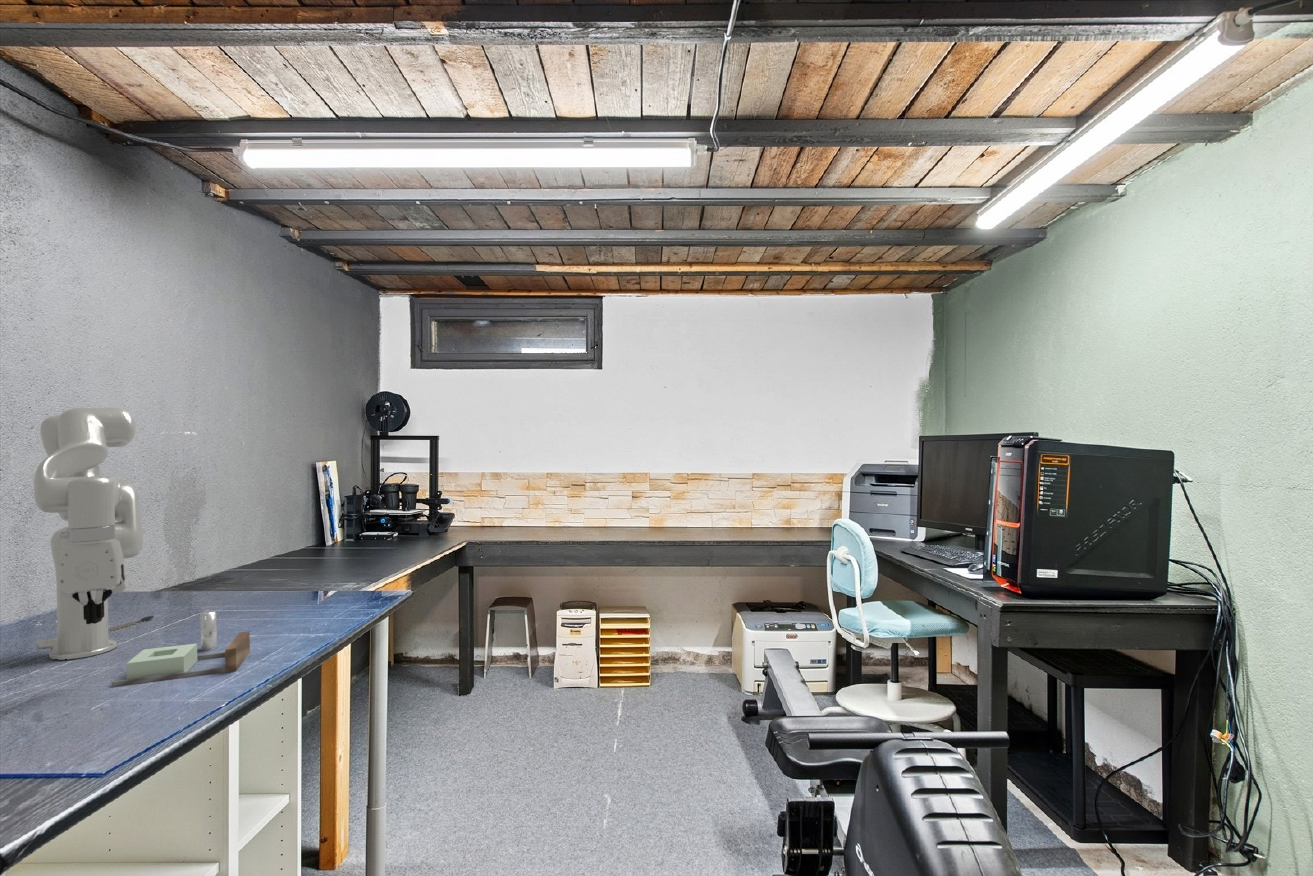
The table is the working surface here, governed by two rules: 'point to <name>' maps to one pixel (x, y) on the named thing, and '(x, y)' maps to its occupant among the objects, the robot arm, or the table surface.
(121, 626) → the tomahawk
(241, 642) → the rail board
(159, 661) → the sliding block
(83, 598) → the robot arm
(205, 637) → the grey round-ended peg
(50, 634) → the table surface
